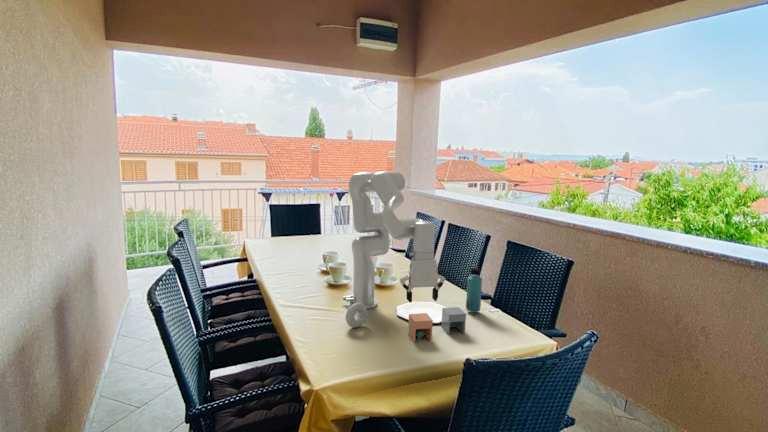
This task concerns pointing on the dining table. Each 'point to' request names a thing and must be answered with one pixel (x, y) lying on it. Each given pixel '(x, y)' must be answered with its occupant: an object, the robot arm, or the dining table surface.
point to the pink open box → (420, 325)
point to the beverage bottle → (474, 291)
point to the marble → (419, 333)
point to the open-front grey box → (453, 319)
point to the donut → (351, 314)
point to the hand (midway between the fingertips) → (422, 300)
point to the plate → (421, 310)
